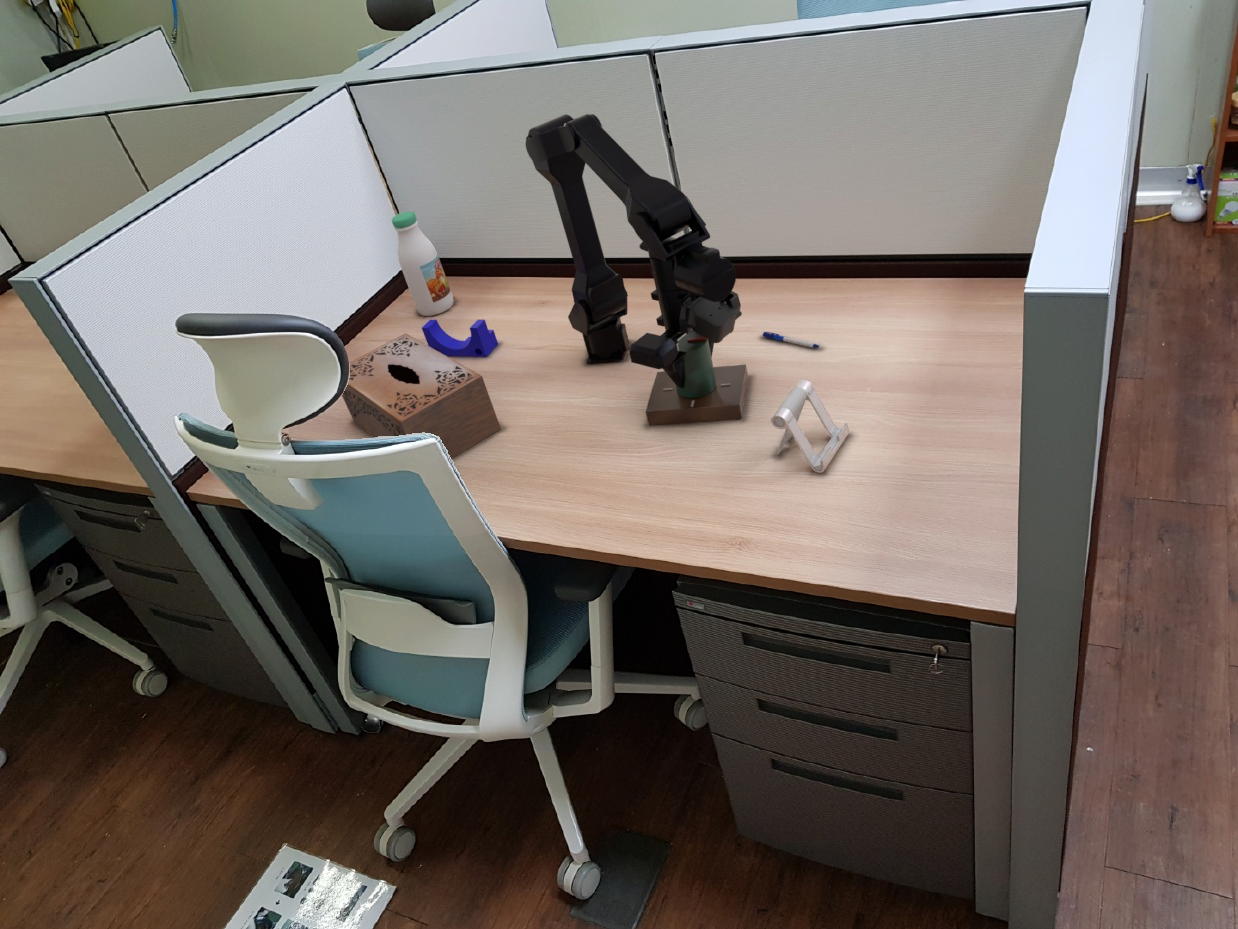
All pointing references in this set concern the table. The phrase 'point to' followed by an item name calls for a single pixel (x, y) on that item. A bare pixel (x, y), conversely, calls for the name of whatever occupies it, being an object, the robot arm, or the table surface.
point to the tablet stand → (788, 420)
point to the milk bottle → (421, 267)
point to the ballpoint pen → (789, 340)
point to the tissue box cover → (419, 395)
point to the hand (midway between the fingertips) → (694, 376)
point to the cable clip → (471, 347)
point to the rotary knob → (696, 366)
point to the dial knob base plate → (699, 399)
